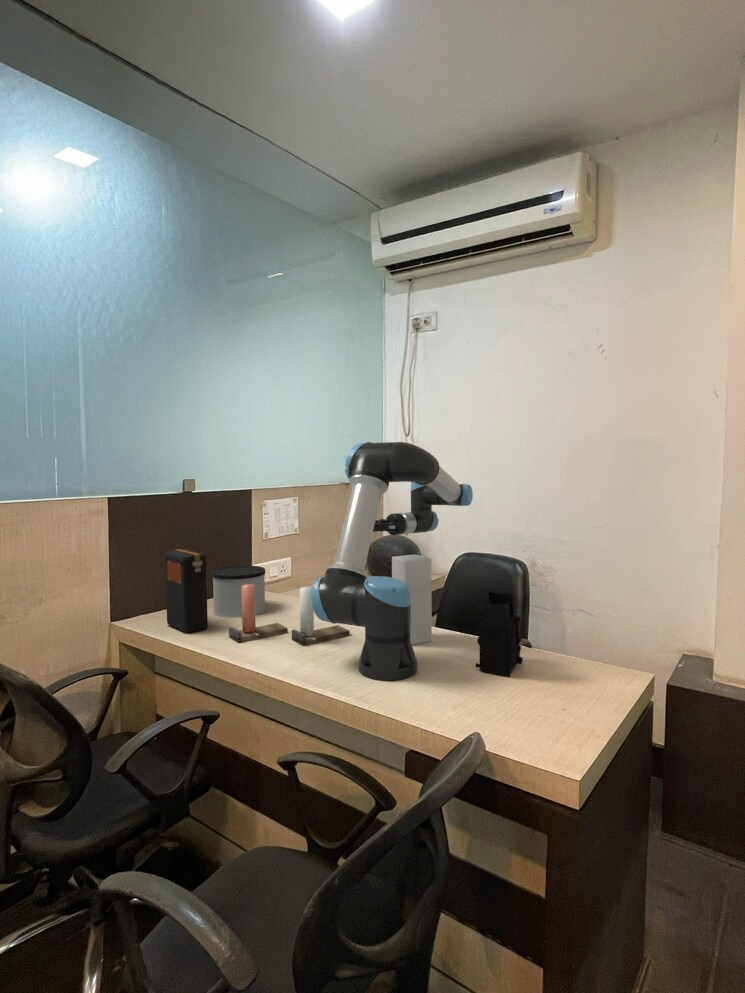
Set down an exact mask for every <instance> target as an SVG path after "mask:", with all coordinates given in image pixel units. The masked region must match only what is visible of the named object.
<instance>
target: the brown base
mask: <svg viewBox="0 0 745 993" xmlns="http://www.w3.org/2000/svg"><path fill="white" fill-rule="evenodd" d="M288 630H289V629H288V627H286V626H284V625H283V624H281V623H279V622H275V623H270V624H266V625H260V626H256V630H255V631H254V632H243V631H242V629H237V628H236V627H234V626H230V627H228V638H230V639H231V640H232V641H235V643H237V644H239V643H244V642H248V641H253V640H259V639H264V638H269V637H272V636H274V637H275V636H278V635H283V634H288Z"/></svg>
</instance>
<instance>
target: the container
mask: <svg viewBox="0 0 745 993" xmlns="http://www.w3.org/2000/svg"><path fill="white" fill-rule="evenodd" d="M265 574H266V568H265V567H262V566H259V565H230V566H223V567H218V568H216V569H213V570H212V571H211V577H212V585H213V615H215V616H217V617H220V618H221V617H222V618H233V619H234V618H242V587H241V586H242V585H245V584H254V585H255V616H256V615H260V614H263V613H264V612H265V611H266V596H265V594H266V592H265V591H266V587H265Z"/></svg>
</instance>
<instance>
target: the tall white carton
mask: <svg viewBox="0 0 745 993" xmlns="http://www.w3.org/2000/svg"><path fill="white" fill-rule="evenodd" d="M391 578H395V579H399V580H401V581H403V582H405V583H406V584H407V585H408V587H409V589H410V599H411V606H410V640H411V643H412V646H413V645H419V644H425V643H430V642H432V640H433V639H432V638H433V630H432V628H433V627H432V626H433V624H432V623H433V621H432V620H433V618H432V616H433V615H432V608H433V607H432V605H433V603H432V600H433V599H432V594H433V591H432V558H430V557H427V556H423V555H418V554H416V553H415V554H407V555H397V556H392V557H391Z"/></svg>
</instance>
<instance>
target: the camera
mask: <svg viewBox="0 0 745 993" xmlns="http://www.w3.org/2000/svg"><path fill="white" fill-rule="evenodd" d="M513 596H514V595H513V593H512V592H506V591H499V590H498V591H497V590H491V589H490V590H488V603H487V602H486V603H485V608H484V617H483V620H482V621H481V622H480V623H479V630H478V631H476V633H477V634H476V635H477V636H478V637H477V640H476V641H477V645H478V646H479V662H476V663H475V665H474V666H475V668H479V670H480V671H479V672H485V673H488V674H489V673H490V674H494V675H500V676H504V677H510V676H511V674H512V671H513V670H514V669H515V667H516V666H517V665H522V664H523V662H524V661H523V660H524V658H523V656H521V649H522V648H521V647H522V646H521V645H520V642H521V641H522V637H520V635H521V634H520V631H521V630H520V629H521V627H520V625H522V624H523V623H522V621H521V617H520V616H518V615H515V607H514V599H513Z"/></svg>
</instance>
